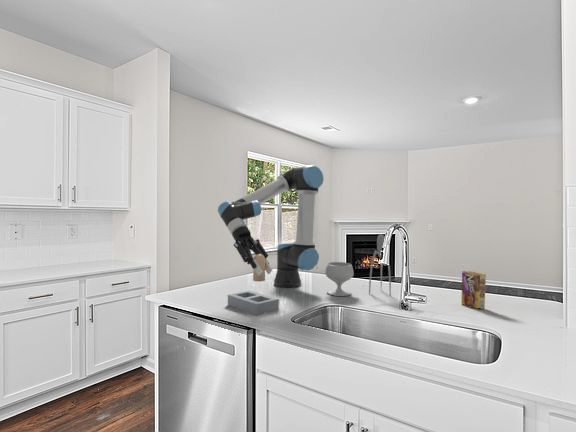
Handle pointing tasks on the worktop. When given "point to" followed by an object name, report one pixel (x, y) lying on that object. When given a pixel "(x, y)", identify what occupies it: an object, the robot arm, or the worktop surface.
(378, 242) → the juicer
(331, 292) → the chalice
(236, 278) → the worktop surface
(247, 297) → the divided tray
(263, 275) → the peach dome-topped cylinder
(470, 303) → the candy box
